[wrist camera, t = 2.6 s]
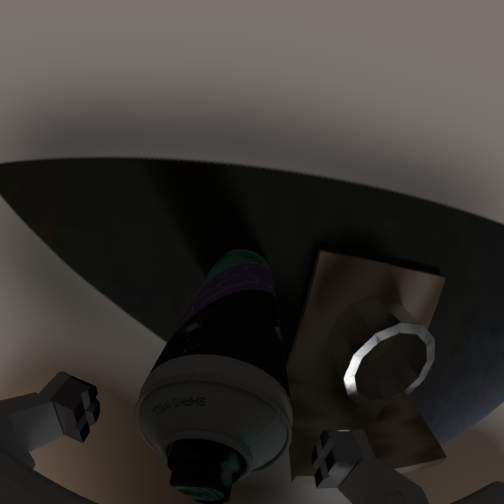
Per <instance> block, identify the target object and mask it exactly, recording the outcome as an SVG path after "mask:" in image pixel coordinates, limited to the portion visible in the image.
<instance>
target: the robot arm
mask: <svg viewBox="0 0 504 504" xmlns="http://www.w3.org/2000/svg"><path fill="white" fill-rule="evenodd" d="M97 394H98V391H97V387H96V386H94V385H92V384H89V383H87V382H85V381H83V380H80V379H78V378H76V377H74V376H71V375H69V374H67V373H65V372H63V371H62V372H59V373H58V374H57V375H56V376H55V377H54V378H53V379H52V380H51V381H50V382H49V383H48V384H47V385H46V387H44V388H43V389H42V391H41V392H40V393H39V394H38V393H36V392H35V393H31V394H27V395H23V396H19V397H14V398H10V399H5V400H1V401H0V504H98V503H95V502H93V501H91V500H89V499H87V498H84V497H82V496H80V495H78V494H76V493H74V492H72V491H70V490H68V489H66V488H64V487H62V486H60V485H59V484H57V483H55V482H53V481H52V480H50V479H48V478H46V477H45V476H43V475H41V474H40V473H38V472H36V471H35V470H33V468H34V466H35V461H34V460H33V458H32V457H31V455H30V453H29V452H30V451H32V450H34V449H36V448H39V447H41V446H43V445H45V444H47V443H49V442H52V441H53V440H56V439H58V438H60V437H62V436H64V435H67V436H69V437H71V438H73V439H75V440H78V441H80V442H82V443H83V442H84V441H85V439H86V438H87V436H88V434H89V433H90V428H89V426H91V425H93V424H95V423H96V421H97V419H98V417H99V414H100V402H99V401H98V400H97V399H96V396H97ZM320 440H321V441H320V442H318V443H316V444H315V446H314V448H313V451H312V456H311V461H312V466H313V467H314V468H315V469H316V470H317V471H316V473H315V474H314V478H315V483H316V488H338V489H339V490H340V491H341V492H342V493H343V494H344V495H345V496H346V498H347V499H348V500H349V501H350V502H351V503H352V504H429V502H428V500H427V498H426V496H425V494H424V491H423V490H422V488H421V487H420V486H418V485H417V484H415V483H414V482H412V481H410V480H409V479H408V478H406V477H405V476H403V475H401V474H400V473H399V472H397V471H396V470H394V469H393V468H391V467H390V466H389V465H387V464H386V463H384V462H383V461H381V460H380V459H376V458H375V455H374V453H373V450H372V448H371V446H370V443H369V441H368V438H367V436H366V434H365V431H364V430H363V429H357V430H324V431H323V432H322V433H321V435H320ZM451 504H504V483H503V482H500V481H496V482H493V483H491V484H489V485H487V486H485V487H483V488H482V489H480V490H478V491H476V492H474V493H472V494H470V495H468V496H466V497H464V498H462V499H460V500H458V501H455V502H453V503H451Z"/></svg>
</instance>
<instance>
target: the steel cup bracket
mask: <svg viewBox="0 0 504 504" xmlns="http://www.w3.org/2000/svg"><path fill="white" fill-rule="evenodd" d="M396 334H397V337H396V339H395V342H394V344H393V346H392V347H391V348H390V349H389V350H388V351H387V352H386V353H385V354H384V355H383V356H382V357H380V358H378V359H375V360H373V361H370V362H368V363H360V362H361V360H362V358H363V357H364V356H365V355H366V354H367V353H368V352H369V351H370V350H371V349H372V348H373V347H374V346H375V345H376V344H377V343H378V342H379V341H382V340H384V339H386V338H389V337H391V336H393V335H396ZM328 343H329V347H330V351H331V355H332V359H333V361H334V364H335V366H336V368H337V371H338V373H339V376H340V378H341V381H342V383H343V386H344V388H345V391H346V393H347V396H348V397H349V399H348V401H347V402H348V404H349V407H350V410H351V412H352V415H353V418H354V420H355V422H374V421H375V419H376V418H377V416H378V414H379V413H380V411H381V409H382V408H383V406H386V405H388V404H391V403H393V402H395V401H397V400H400V399H402V398H404V397H406V396H407V395H408V394H409V393H410V392H412V391H413V390H414V389H415V388H416V387H417V386H418V385H419V384H420V383H421V382H422V381H423V380H424V379H425V377H426V375H427V373H428V371H429V369H430V367H431V365H432V363H433V361H434V356H435V341H434V338H433V337H432V335H431V334H430V333H429V332H428V331H427V329H426V328H425V327H424V326H423V325H422V324H421V323H420V322H419V321H418V320H417V319H416V318H414V317H413V316H412V315H411V314H410V313H409V312H408V311H407V310H405V309H404V308H403V307H402V306H401V305H400V304H399V303H397V302H396V301H395V300H394V299H393V298H388V297H382V296H376V295H371V296H369V297H366V298H364V299H361V300H358V301H356V302H353V303H351V304H350V305H349V306H348V307H347V308H346V309H345V310H344V311H343V312H342V313H341V314H340V315H339V316H338V317H337V318H336V319H335V321H334V324H333V327H332V330H331V333H330V336H329V339H328Z"/></svg>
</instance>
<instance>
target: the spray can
mask: <svg viewBox="0 0 504 504" xmlns="http://www.w3.org/2000/svg"><path fill="white" fill-rule="evenodd" d="M134 415H135V423H136V426H137V428H138V431H139V433H140V434H141V436H142V437H143V439H144V440H145V442H146V443H147V444H148V445H149V446H150V447H151V448H152V449H153V450H154V451H156V452H157V453H158V454H159V455H161V456H162V458H163V460H164V461H165V463H166V464H167V465H168V467H169V469H170V470H171V471H172V474H171V479H170V484H171V485H172V486H173V487H174V488H176V489H177V490H179V491H180V492H182V493H183V494H185V495H186V496H188V497H189V498H191V499H193V500H195V501H197V502H200V503H203V504H223V503H226V502H227V501H229V499H230V493H231V487H232V484H233V483H234V482H236V481H237V480H240V479H242V478H244V477H246V476H247V475H248V474H249V473H253V472H256V471H259V470H262V469H264V468H266V467H268V466H270V465H272V464H274V463H275V462H276V461H278V460H279V459H280V458H281V457H282V456H283V455H284V454H285V453H286V451H287V450H288V448H289V446H290V443H291V438H292V429H291V428H292V424H293V411H292V404H291V397H290V389H289V382H288V375H287V368H286V361H285V354H284V347H283V341H282V334H281V327H280V321H279V314H278V308H277V301H276V295H275V288H274V282H273V276H272V272H271V269H270V267H269V265H268V263H267V262H266V261H265V259H264V258H262V257H261V256H260V255H259V254H257V253H255V252H253V251H250V250H245V249H237V250H232V251H229V252H227V253H225V254H224V255H222V256H221V257H220V258H219V259H218V260H217V261H216V262H215V264H214V265H213V267H212V269H211V270H210V272H209V274H208V275H207V277H206V278H205V280H204V282H203V283H202V285H201V287H200V288H199V290H198V292H197V293H196V295H195V297H194V298H193V300H192V302H191V303H190V305H189V307H188V308H187V310H186V312H185V313H184V315H183V317H182V319H181V320H180V322H179V324H178V325H177V327H176V329H175V330H174V332H173V334H172V336H171V337H170V339H169V341H168V342H167V344H166V346H165V348H164V349H163V351H162V353H161V355H160V356H159V358H158V360H157V362H156V364H155V365H154V367H153V369H152V370H151V372H150V374H149V376H148V377H147V379H146V381H145V383H144V384H143V386H142V388H141V391H140V396H139V400H138V402H137V404H136V407H135V413H134Z"/></svg>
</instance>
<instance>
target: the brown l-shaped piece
mask: <svg viewBox="0 0 504 504" xmlns="http://www.w3.org/2000/svg"><path fill="white" fill-rule="evenodd" d="M444 281H445V277H443V276H441V275H438V274H433V273H429V272H424V271H420V270H415V269H411V268H406V267H402V266H397V265H393V264H388V263H384V262H379V261H374V260H370V259H365V258H360V257H356V256H351V255H346V254H341V253H337V252H332V251H327V250H322V249H318V252H317V257H316V261H315V265H314V269H313V273H312V277H311V281H310V285H309V288H308V292H307V296H306V300H305V303H304V307H303V311H302V314H301V318H300V321H299V325H298V328H297V332H296V335H295V339H294V342H293V345H292V349H291V352H290V355H289V358H288V362H287V365H286V368H287V375H288V382H289V389H290V397H291V404H292V411H293V424H292V428H291V429H292V438H291V443H290V446H289V456H290V466H291V477H292V482H299V483H301V482H302V483H304V482H305V483H311V482H315V478H314V474H315V473H316V471H317V470H316V469H315V468H314V467H313V466H312V461H311V456H312V451H313V448H314V446H315V444H316V443H318V442H320V441H321V440H320V435H321V433H322V432H323V431H324V430H357V429H363V430H364V431H365V434H366V436H367V438H368V441H369V443H370V446H371V448H372V450H373V453H374V455H375V458H376V459H380V460H381V461H383V462H384V463H386V464H387V465H389V466H390V467H391V468H393V469H394V470H396V471H397V472H399V473H400V474H401V473H406V472H410V471H415V470H419V469H424V468H428V467H431V466H435V465H439V464H441V463H442V462H443V461H444V460H445V458H446V457H447V456H446V455H445V453H444V451H443V450H442V448H441V446H440V445H439V443H438V441H437V440H436V438H435V436H434V435H433V433H432V432H431V430H430V428H429V427H428V425H427V424H426V422H425V420H424V419H423V417H422V416H421V414H420V412H419V411H418V409H417V408H416V406H415V405H414V403H413V402H412V400H411V398H410V397H409V395H407V396H406V397H404V398H402V399H400V400H397V401H395V402H393V403H391V404H388V405H386V406H383V408H382V409H381V411H380V413H379V414H378V416H377V418H376V419H375V421H374V422H355V420H354V418H353V415H352V412H351V410H350V407H349V404H348V402H347V401H348V399H349V397H348V396H347V393H346V391H345V388H344V386H343V383H342V381H341V378H340V376H339V373H338V371H337V368H336V366H335V364H334V361H333V359H332V355H331V351H330V347H329V343H328V339H329V336H330V333H331V330H332V327H333V324H334V321H335V319H336V318H337V317H338V316H339V315H340V314H341V313H342V312H343V311H344V310H345V309H346V308H347V307H348V306H349V305H350V304H351V303H353V302H356V301H358V300H361V299H364V298H366V297H369V296H371V295H376V296H382V297H388V298H393V299H394V300H395V301H396V302H397V303H399V304H400V305H401V306H402V307H403V308H404V309H405V310H407V311H408V312H409V313H410V314H411V315H412V316H413V317H414V318H416V319H417V320H418V321H419V322H420V323H421V324H422V325H423V326H424V327H425V328H426V329H428V327H429V324H430V322H431V319H432V316H433V314H434V311H435V308H436V306H437V303H438V300H439V297H440V294H441V291H442V288H443V285H444ZM396 337H397V334H396V335H393V336H391V337H389V338H386V339H384V340H382V341H379V342H378V343H377V344H376V345H375V346H374V347H373V348H372V349H371V350H370V351H369V352H368V353H367V354H366V355H365V356H364V357H363V358H362V360H361V362H360V363H368V362H370V361H373V360H375V359H378V358H380V357H382V356H383V355H384V354H385V353H386V352H387V351H388V350H389V349H390V348H391V347H392V346H393V344H394V342H395V339H396Z"/></svg>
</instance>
